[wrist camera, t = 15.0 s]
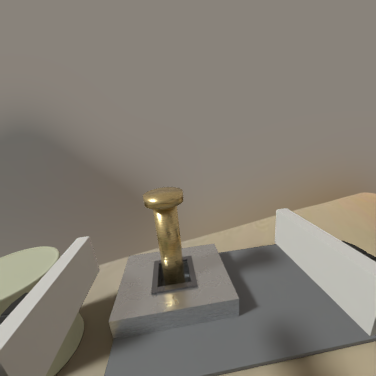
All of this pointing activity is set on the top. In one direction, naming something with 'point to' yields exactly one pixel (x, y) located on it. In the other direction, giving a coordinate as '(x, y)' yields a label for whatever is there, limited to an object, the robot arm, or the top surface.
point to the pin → (168, 231)
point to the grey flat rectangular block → (172, 294)
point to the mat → (246, 324)
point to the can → (25, 281)
